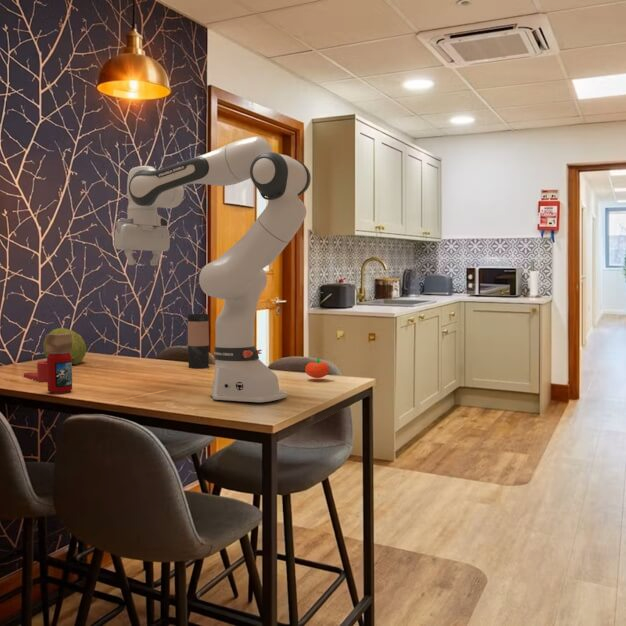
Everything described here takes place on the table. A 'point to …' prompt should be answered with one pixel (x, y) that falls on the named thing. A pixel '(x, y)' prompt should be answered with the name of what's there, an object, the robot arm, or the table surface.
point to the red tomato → (317, 369)
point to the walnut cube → (58, 342)
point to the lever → (39, 372)
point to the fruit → (77, 345)
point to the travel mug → (198, 341)
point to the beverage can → (59, 372)
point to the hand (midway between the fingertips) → (143, 265)
